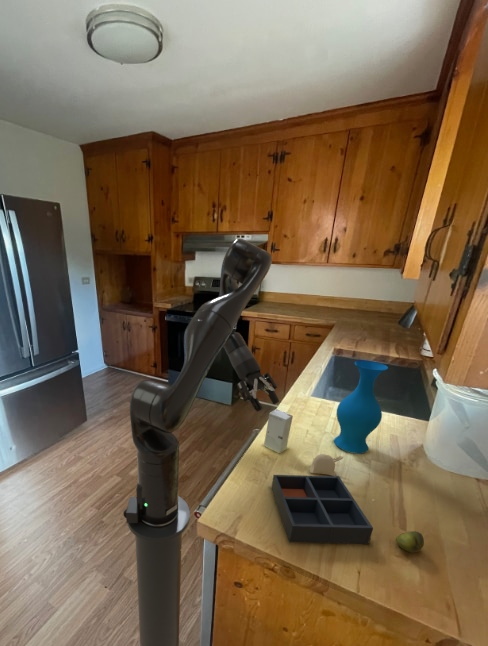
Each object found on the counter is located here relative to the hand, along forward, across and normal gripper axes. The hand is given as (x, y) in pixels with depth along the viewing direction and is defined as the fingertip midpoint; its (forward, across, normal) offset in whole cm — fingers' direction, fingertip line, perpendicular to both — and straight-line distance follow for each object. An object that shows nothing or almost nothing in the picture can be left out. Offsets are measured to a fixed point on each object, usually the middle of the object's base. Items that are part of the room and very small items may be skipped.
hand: (268, 406), depth 104 cm
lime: (+42, -10, -23) cm, 49 cm away
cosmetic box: (+12, 0, +6) cm, 14 cm away
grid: (+29, -16, -11) cm, 35 cm away
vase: (+23, +20, -4) cm, 31 cm away
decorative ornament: (+24, +1, -6) cm, 25 cm away
